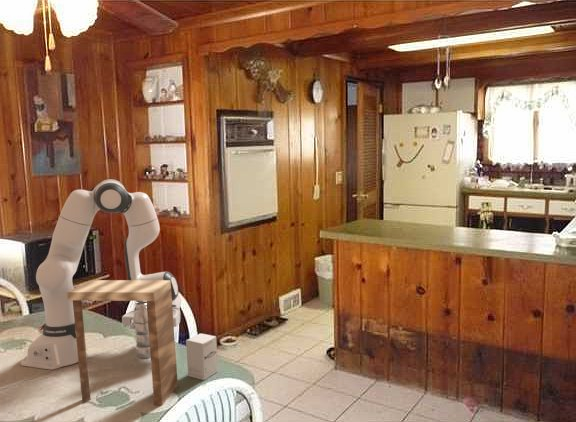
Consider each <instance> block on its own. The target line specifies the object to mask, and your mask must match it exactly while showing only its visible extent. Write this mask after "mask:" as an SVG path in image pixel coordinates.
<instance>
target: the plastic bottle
mask: <svg viewBox="0 0 576 422" xmlns="http://www.w3.org/2000/svg"><path fill="white" fill-rule="evenodd" d="M135 310H137V311H136V312H135V314H134V316H133V323H134V327H135V329H134V330H135V331H134V332H135V336H136V339H135V341H136V346H135V354H136V357H137V358H138V359H140V360H149V359H151V355H150V342H149V329H148V316H147V303H146V301H142V302H135Z"/></svg>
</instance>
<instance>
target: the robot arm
mask: <svg viewBox="0 0 576 422" xmlns="http://www.w3.org/2000/svg"><path fill="white" fill-rule="evenodd" d="M99 211H102V212H105V213H109V214H123V216H124V217H125V220H126V224H127V226H128V235H127V237H126V238H125V239H124V243H123V244H124V249H123V250H124V257H125V258H124V259H125V260H124V261H125V266H126V274H127V280H170V281H171V295H172V309H173V323H174V328H176V327H178V326H179V325H180V323H181V309H180V307H181V304H182V297H181V295H180V291H179V283H178V279H177V277H176V276H175V275H173V274H172V273H171V272H170V271H167V270H166V271H160V272H155V273H149V274H142V272H141V267H140V266H141V264H140V257H139V255H140V252H141V251H142V249H144V248H146V247H147V246H148V245H150V244H153V242H154V241H155V240H156V239H157V238H158V236H159V234H160V231H161V229H160V228H161V227H160V221H159V219H158V215H157V212H156V210H155V207H154V204H153V203H152V199H151V198H150V196H149V195H148V194H147V193H145V192H142V191H136V192H128V191H127V190H126V188H125V185H123V183H122V182H121V181H120V180H118V179H115V178H111V177H110V178H105V179H103V180H101V181H99V182H97V184H96V185H95V186H94V187H92V188H90V190H87V189H75V190H73V191H71V192H70V194H69V195H68V197H67V198H66V201H65V202H64V205H63V206H62V209H61V211H60V214H59V216H58V219H57V223H56V225H55V227H54V231H53V233H52V236H51V237H52V238H51V243H50V247H49V251H48V254H47V256H46V257H45V259H44V261H43V262H42V263H40V264H39V266H38V268H37V269H36V273H35V281H36V283H37V285H38V286H39V287H38V288H39V292H40V296H41V297H42V301H43V306H44V315H45V323H44V324H43V325H41V326H40V327H39V331H42V333H41V334H40V335H39V336H38V337H36V339H34V341H32V342H31V343H30V344H29V346H28V347H27V355H26V356H25V357H24V358H22V360H21V361H20V365H21V366H23V367H28V368H37V369H44V370H56V369H60V368H61V367H62V368H63V367H66V366H71V365H73V364H76V363H79V362H78V351H77V341H76V331H75V320H74V310H73V300H68V297H67V292H68V291H70V290H72V289H74V288H75V287H74V285H73V277H74V275H75V274H76V272H77V271H78V267H79V264H80V260H81V259H82V258H81V257H82V254H83V250H84V246H85V244H86V241H87V238H88V236H89V234H90V230H91V227H92V224H93V221H94V218H95V216H96V214H97V213H98V212H99ZM137 302H142V301H135V303H137ZM136 311H137V309H135V310H131V311H129V312H127V313H125V314H124V315H122V316H121V323H122V325H123V326H124V327H129V329H131V330H133V329H134V330H135V327H134V323H133V316H134V314H135V312H136ZM86 355H87V356H88V352H87V351H86Z"/></svg>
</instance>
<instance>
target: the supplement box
mask: <svg viewBox="0 0 576 422" xmlns="http://www.w3.org/2000/svg"><path fill="white" fill-rule="evenodd" d="M185 346H186V347H185V348H186V365H187V376H188V377H191V378H195V379H199V380H202V381H205V380H206V379H208V378H209V377H212V376H213V375H214V374H216V373H218V372H219V365H218V348H217V346H218V345H217V336H216V335H212V334H206V333H198V334H197V335H194V336H192V337H190V338H188V339H186V340H185Z"/></svg>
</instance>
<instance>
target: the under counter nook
mask: <svg viewBox="0 0 576 422" xmlns="http://www.w3.org/2000/svg"><path fill="white" fill-rule="evenodd" d="M73 288H74V289H72V290H70V291H68V292H67V297H68V300H73V310H74V320H75V331H76V341H77V351H78V362H77V363H78V369H79V381H80V392H81V393H80V394H81V401H82V402H83V403H85V402H89V401H90V400H91V399H92V398H91V397H92V396H91V390H90V389H91V388H90V378H89V376H90V375H89V368H88V359H87V358H88V354H87V355H86V352H87V348H86V347H87V345H86V336H85V326H84V325H85V324H84V314H83V305H82V301H100V302H101V301H102V302H103V301H106V302H107V301H109V302H110V301H113V302H114V301H115V302H116V301H117V302H118V301H119V302H121V301H124V302H129V301H131V302H134V301H135V302H136V301H145V302H146V303H147V316H148V329H149V342H150V355H151V358H150V365H151V367H150V368H151V379H152V390H153V391H152V392H153V405H154V406H163V405H164V404H165V402H166V401H167V400H168V398H170V396H171V394H172V393H173V392H174V391H175V389H176V388H177V386H178V385H179V383H178V381H179V380H178V371H177V370H178V368H177V355H176V340H175V327H174V323H173V309H172V295H171V281H170V280H128V279H126V280H125V279H124V280H123V279H120V280H119V279H116V280H115V279H105V280H103V279H97V280H96V279H93V280H91V279H90V280H88V281H86V282H84V283H82V284H80V285H78V286H76V287H73Z"/></svg>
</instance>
